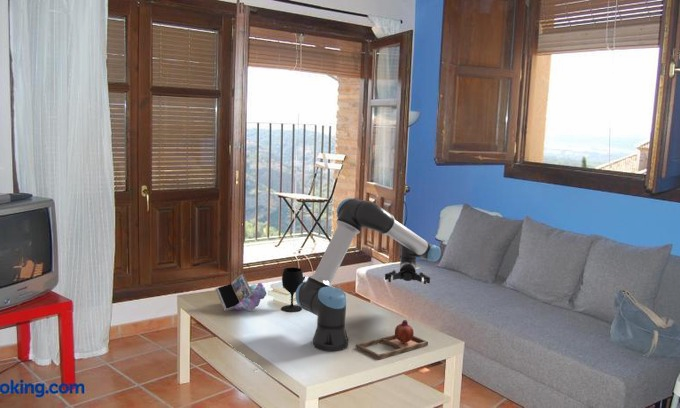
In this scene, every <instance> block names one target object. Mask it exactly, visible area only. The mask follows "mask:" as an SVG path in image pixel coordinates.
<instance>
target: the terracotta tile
mask: <svg viewBox="0 0 680 408" xmlns="http://www.w3.org/2000/svg"><path fill="white" fill-rule="evenodd" d="M390 342H392V343H395V344H397V345H399V346H401V347H403V348H404V347H407V346H411V345H414V344H418V343H419V342H416V341H414V340H412V339H411V340H410V341H409V342H406V343H403V342H401V341H399V340H398V339H394V340H390Z"/></svg>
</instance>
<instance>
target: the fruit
mask: <svg viewBox="0 0 680 408" xmlns="http://www.w3.org/2000/svg"><path fill="white" fill-rule="evenodd" d="M394 335H395V336H396V338H397V339H398V340H399V341H401V342H403V343H406V342H409V341H410V340H412V338H413V336H414V329H413V327H412V326H411V325H410V324H409V323H408V321H407V320H406V319H405V320H404V319H403V320H402V322H401V323H400V324H397V326H396V327H395V329H394Z"/></svg>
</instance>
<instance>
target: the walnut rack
mask: <svg viewBox="0 0 680 408" xmlns="http://www.w3.org/2000/svg"><path fill="white" fill-rule="evenodd" d="M395 339H397V338H396V336H395V334H392V335H391V334H390V335H388V336H387V335H386V336H384V337H379V338H377V339H372V340H369V341H365V342H361V343H357V344H356V345H355V348H356V349H357V350H359V351H360V352H363V353H365V354H366V355H368V356H370V357H372V358H374V359H376V360H378V361H379V360H383V359H385V358H386V359H387V358H389V357H393V356H396V355H399V354H403V353H407V352H409V351H414V350H416V349H417V350H418V349H421V348H424V347H426V346H428V345H429V341H427V340H424V339H423V338H421V337H418V336H416V335H413V338H412V339H411V340H412V341H414V342H417V343H418V344H414V345H411V346H407V347H404V348H403V347H401V346H399V345H397V344H395V343H392V342H390V341H391V340H395ZM378 343H379V344H381V343H382V344H385V345H386V346H388V347H390V348H393V349H394V350H390V351H386V352H383V353H376V352H375V351H372V350H370V349H368V348H367V347H370V346H375V345H378Z"/></svg>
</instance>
